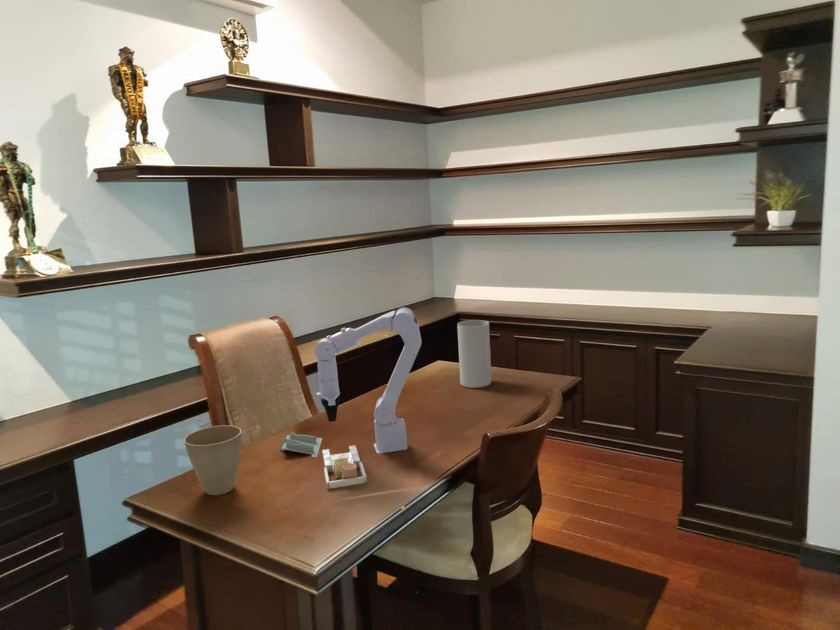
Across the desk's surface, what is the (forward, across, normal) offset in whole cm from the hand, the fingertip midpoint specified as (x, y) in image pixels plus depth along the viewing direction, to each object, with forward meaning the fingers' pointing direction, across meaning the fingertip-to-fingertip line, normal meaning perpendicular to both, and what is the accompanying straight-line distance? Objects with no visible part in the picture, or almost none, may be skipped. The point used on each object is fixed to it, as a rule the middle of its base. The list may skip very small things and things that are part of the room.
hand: (332, 420), depth 191 cm
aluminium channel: (+10, +10, +1) cm, 14 cm away
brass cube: (+9, +19, 0) cm, 21 cm away
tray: (+10, +21, +1) cm, 23 cm away
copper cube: (+9, +23, +2) cm, 25 cm away
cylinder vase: (+10, -48, +61) cm, 78 cm away
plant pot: (+10, +15, -33) cm, 38 cm away
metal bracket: (+11, -4, -9) cm, 15 cm away
